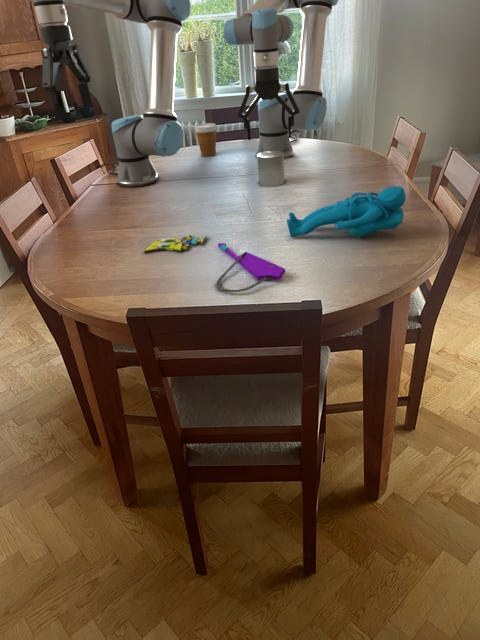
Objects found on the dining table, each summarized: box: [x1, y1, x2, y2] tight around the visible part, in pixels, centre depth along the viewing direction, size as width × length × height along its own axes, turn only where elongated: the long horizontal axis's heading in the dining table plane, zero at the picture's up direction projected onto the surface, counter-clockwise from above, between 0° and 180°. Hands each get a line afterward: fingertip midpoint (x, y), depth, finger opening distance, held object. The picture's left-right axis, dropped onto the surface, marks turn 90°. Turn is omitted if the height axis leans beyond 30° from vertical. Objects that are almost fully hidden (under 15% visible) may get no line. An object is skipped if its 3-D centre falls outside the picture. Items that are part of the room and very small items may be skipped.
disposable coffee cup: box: [194, 122, 218, 157], centre depth 207 cm, size 10×10×12 cm
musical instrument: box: [216, 242, 286, 293], centre depth 114 cm, size 24×2×20 cm
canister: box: [256, 151, 285, 187], centre depth 168 cm, size 9×9×10 cm
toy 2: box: [286, 185, 407, 238], centre depth 125 cm, size 17×11×30 cm
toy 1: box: [144, 234, 207, 254], centre depth 130 cm, size 10×1×15 cm
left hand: (75, 112), depth 137 cm, fingers open, 13 cm apart
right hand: (269, 138), depth 162 cm, fingers open, 13 cm apart
